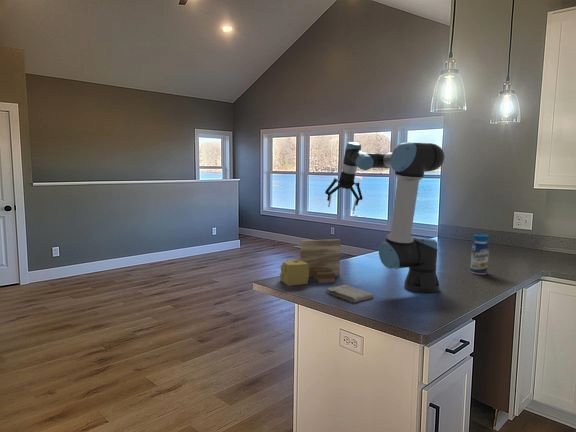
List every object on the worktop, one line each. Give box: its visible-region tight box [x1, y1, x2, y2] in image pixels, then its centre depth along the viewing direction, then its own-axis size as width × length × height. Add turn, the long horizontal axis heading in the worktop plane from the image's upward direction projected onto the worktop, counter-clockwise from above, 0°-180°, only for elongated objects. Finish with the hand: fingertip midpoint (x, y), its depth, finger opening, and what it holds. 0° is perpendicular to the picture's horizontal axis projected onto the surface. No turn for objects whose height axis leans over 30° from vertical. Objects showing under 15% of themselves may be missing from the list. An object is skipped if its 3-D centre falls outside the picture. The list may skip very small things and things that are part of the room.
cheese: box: [279, 258, 310, 287], centre depth 196 cm, size 10×11×10 cm
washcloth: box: [325, 284, 374, 304], centre depth 177 cm, size 12×18×3 cm, turn 38°
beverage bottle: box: [469, 233, 490, 275], centre depth 217 cm, size 8×8×20 cm
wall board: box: [299, 239, 341, 284], centre depth 204 cm, size 16×20×18 cm
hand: (341, 208), depth 229 cm, fingers open, 13 cm apart
